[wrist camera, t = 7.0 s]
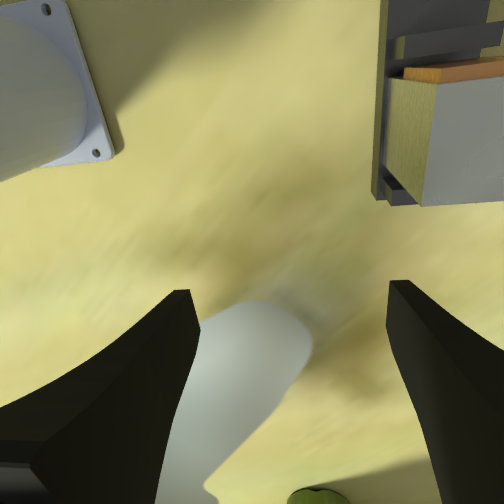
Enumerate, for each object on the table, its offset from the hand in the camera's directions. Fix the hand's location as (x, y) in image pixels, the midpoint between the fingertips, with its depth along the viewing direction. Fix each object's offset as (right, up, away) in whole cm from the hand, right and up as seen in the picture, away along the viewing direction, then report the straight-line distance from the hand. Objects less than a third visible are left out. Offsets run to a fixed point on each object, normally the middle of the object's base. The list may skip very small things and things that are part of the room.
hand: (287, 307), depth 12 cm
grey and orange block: (+7, +9, +4) cm, 12 cm away
